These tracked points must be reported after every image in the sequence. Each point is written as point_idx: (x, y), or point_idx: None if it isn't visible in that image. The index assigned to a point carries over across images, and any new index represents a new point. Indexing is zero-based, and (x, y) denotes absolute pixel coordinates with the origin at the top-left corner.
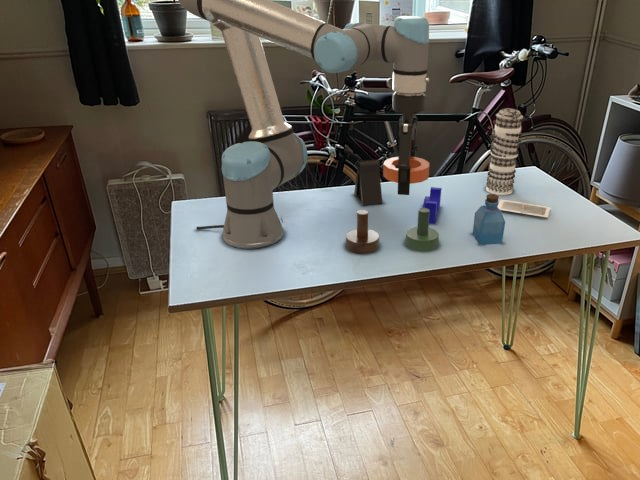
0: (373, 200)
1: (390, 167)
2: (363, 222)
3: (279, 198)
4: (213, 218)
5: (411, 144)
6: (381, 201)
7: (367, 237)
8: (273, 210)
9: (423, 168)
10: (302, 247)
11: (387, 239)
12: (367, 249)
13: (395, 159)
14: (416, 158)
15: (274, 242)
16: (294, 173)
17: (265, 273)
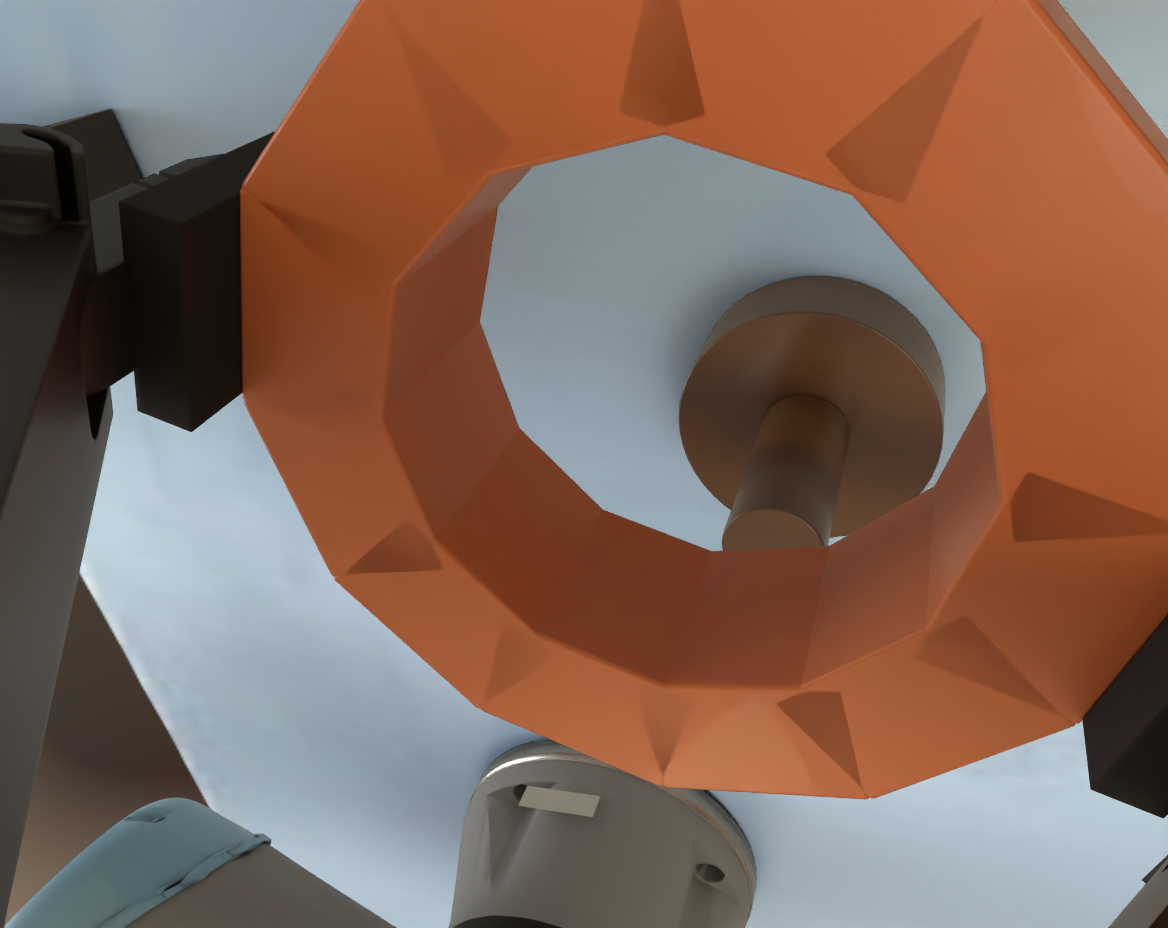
0: (118, 188)
1: (845, 763)
2: (833, 511)
3: (186, 660)
4: (433, 910)
5: (63, 392)
6: (102, 119)
7: (840, 404)
8: (584, 909)
9: (1108, 173)
10: None
11: (725, 184)
12: (943, 398)
13: (431, 565)
14: (340, 171)
15: (711, 802)
16: (288, 901)
17: (1040, 895)
